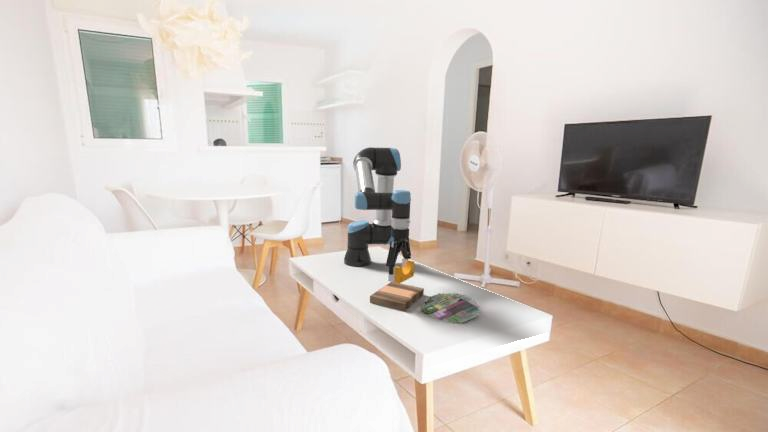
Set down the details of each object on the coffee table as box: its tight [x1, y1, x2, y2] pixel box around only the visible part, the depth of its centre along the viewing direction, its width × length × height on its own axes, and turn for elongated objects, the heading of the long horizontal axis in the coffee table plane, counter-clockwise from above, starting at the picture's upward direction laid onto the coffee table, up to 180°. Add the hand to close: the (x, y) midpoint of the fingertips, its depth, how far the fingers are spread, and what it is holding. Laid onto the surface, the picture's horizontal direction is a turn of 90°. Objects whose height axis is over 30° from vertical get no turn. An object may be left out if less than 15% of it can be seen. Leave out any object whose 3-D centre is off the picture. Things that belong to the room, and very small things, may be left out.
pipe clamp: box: [394, 260, 415, 284], centre depth 157 cm, size 12×4×6 cm, turn 146°
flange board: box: [369, 281, 425, 312], centre depth 160 cm, size 20×16×3 cm
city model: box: [413, 292, 481, 325], centre depth 149 cm, size 25×24×6 cm
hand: (398, 277), depth 158 cm, fingers closed on pipe clamp, 12 cm apart
